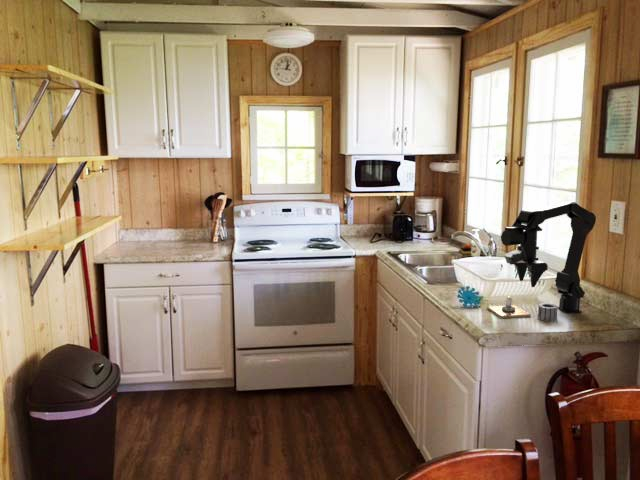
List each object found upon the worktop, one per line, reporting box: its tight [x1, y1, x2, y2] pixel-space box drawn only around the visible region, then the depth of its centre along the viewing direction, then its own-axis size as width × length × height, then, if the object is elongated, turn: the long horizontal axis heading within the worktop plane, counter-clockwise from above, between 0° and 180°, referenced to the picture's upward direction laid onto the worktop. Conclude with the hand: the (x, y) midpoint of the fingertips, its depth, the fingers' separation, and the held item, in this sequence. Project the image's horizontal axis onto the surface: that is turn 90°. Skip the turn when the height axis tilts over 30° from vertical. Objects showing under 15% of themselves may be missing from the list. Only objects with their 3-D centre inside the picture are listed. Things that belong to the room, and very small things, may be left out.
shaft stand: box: [486, 296, 532, 319], centre depth 214 cm, size 12×12×6 cm
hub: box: [537, 302, 559, 322], centre depth 207 cm, size 7×7×5 cm
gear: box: [456, 285, 485, 309], centre depth 225 cm, size 11×6×10 cm
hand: (526, 283), depth 208 cm, fingers open, 9 cm apart
